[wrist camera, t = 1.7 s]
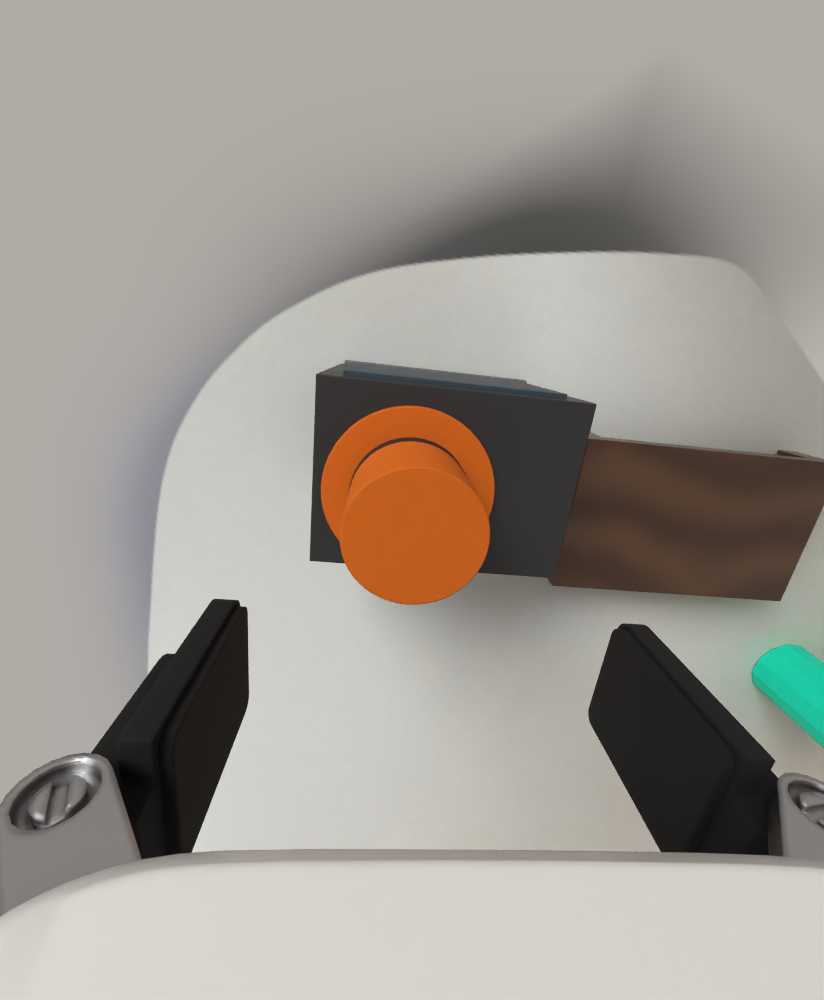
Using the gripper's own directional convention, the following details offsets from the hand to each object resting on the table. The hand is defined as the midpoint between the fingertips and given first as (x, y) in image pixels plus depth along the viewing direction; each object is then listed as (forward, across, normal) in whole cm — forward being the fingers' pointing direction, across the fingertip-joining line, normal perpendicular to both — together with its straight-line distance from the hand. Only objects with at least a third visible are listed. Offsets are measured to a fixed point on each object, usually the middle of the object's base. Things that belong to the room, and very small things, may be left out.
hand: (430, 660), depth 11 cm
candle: (+25, -41, +19) cm, 52 cm away
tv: (+25, -2, -1) cm, 25 cm away
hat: (+13, 0, 0) cm, 13 cm away
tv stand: (+25, -23, +3) cm, 34 cm away
